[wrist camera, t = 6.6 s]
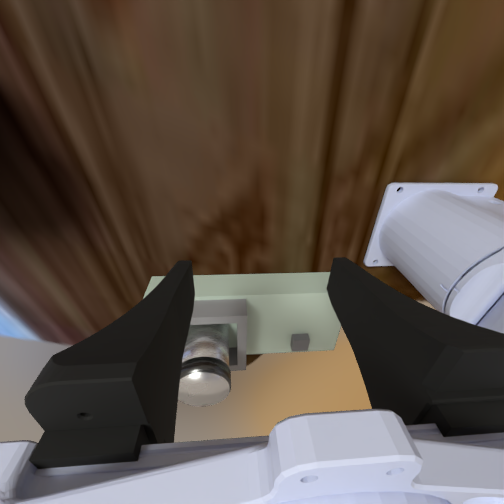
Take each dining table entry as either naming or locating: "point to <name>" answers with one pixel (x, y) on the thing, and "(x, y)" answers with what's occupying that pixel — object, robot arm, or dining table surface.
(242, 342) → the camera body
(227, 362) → the lens
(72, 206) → the dining table surface
